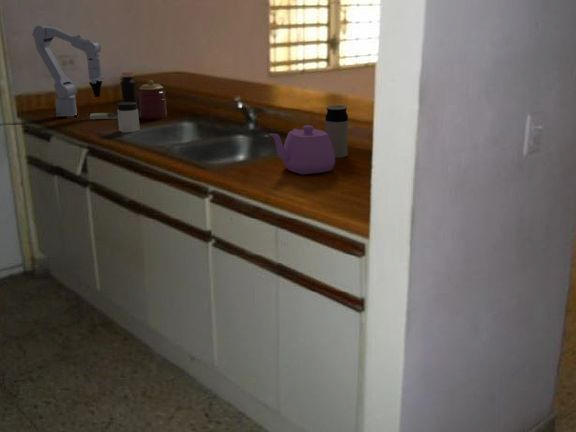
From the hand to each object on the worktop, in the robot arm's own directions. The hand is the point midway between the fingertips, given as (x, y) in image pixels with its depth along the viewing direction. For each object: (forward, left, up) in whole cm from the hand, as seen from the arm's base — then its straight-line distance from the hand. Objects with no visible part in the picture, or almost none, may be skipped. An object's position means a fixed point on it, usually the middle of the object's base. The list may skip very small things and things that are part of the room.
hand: (97, 96), depth 325 cm
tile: (0, 0, -9) cm, 9 cm away
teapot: (+82, -117, -10) cm, 143 cm away
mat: (+1, 0, -10) cm, 10 cm away
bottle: (+14, +10, -10) cm, 20 cm away
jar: (+17, -36, -10) cm, 41 cm away
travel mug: (+96, -99, -10) cm, 138 cm away
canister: (+26, -5, -10) cm, 28 cm away
